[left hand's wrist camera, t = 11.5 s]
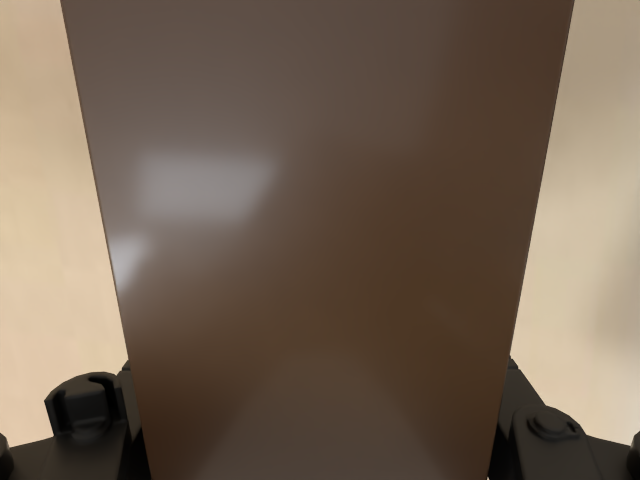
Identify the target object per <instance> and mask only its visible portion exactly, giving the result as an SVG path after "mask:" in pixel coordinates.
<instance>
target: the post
mask: <svg viewBox="0 0 640 480" xmlns="http://www.w3.org/2000/svg"><path fill="white" fill-rule="evenodd" d="M60 2H61V7H62V12H63V17H64V23H65V28H66V33H67V38H68V44H69V49H70V54H71V59H72V65H73V70H74V75H75V80H76V86H77V91H78V96H79V101H80V107H81V112H82V117H83V122H84V128H85V133H86V138H87V143H88V149H89V154H90V159H91V164H92V170H93V175H94V180H95V185H96V191H97V196H98V201H99V206H100V212H101V217H102V222H103V227H104V233H105V238H106V243H107V249H108V254H109V259H110V264H111V270H112V275H113V280H114V285H115V291H116V296H117V301H118V306H119V312H120V317H121V322H122V327H123V333H124V338H125V343H126V348H127V354H128V359H129V364H130V369H131V375H132V380H133V385H134V390H135V396H136V401H137V406H138V411H139V417H140V422H141V427H142V432H143V438H144V443H145V448H146V453H147V459H148V464H149V469H150V474H151V480H487V476H488V471H489V465H490V460H491V454H492V449H493V443H494V438H495V432H496V427H497V421H498V416H499V410H500V405H501V400H502V394H503V389H504V383H505V378H506V372H507V367H508V361H509V356H510V350H511V345H512V339H513V334H514V328H515V323H516V317H517V312H518V307H519V301H520V296H521V290H522V285H523V279H524V274H525V268H526V263H527V257H528V252H529V246H530V241H531V235H532V230H533V225H534V219H535V214H536V208H537V203H538V197H539V192H540V186H541V181H542V175H543V170H544V164H545V159H546V153H547V148H548V143H549V137H550V132H551V126H552V121H553V115H554V110H555V104H556V99H557V93H558V88H559V82H560V77H561V71H562V66H563V60H564V55H565V50H566V44H567V39H568V33H569V28H570V22H571V17H572V11H573V6H574V0H60Z"/></svg>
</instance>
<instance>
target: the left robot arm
mask: <svg viewBox="0 0 640 480" xmlns="http://www.w3.org/2000/svg"><path fill="white" fill-rule="evenodd" d="M44 402H45V406H46V409H47V413H48V416H49V420H50V423H51V427H52V430H53V434H54V436H53V437H51V438H47V439H44V440H40V441H36V442H32V443H28V444H23V445H19V446H15V447H11V448H9V445H8V442H7V439H6V437H5V436H3V435H2V434H1V433H0V480H151V474H150V469H149V464H148V459H147V453H146V448H145V443H144V438H143V432H142V427H141V422H140V417H139V411H138V406H137V401H136V396H135V390H134V385H133V380H132V375H131V369H130V364H129V360H127V362H126V363H125V364H124V366H123V367H122V371H120V372H119V373H118V374H117V376H116V375H115V374H112V373H107V372H91V373H87V374H83V375H79V376H76V377H74V378H72V379H70V380H68V381H65V382H63V383H62V384H60V385H59V386H58V387H56V388H55V389H54V390H52V391H51V392H50V394H49V395H48V396H47V398H46V399H45V400H44ZM487 477H488V478H489V480H640V431H639V432H638V433H637V434H636V435H635V436H634V438H633V441H632V444H631V446H628V445H624V444H620V443H616V442H611V441H607V440H603V439H599V438H595V437H592V436H588V435H586V434H585V432H584V430H583V429H582V427H581V426H580V424H578V423H577V422H576V421H575V420H574V419H572V418H571V417H570V416H569V415H567V414H565V413H563V412H561V411H559V410H558V409H556V408H552V407H549V406H546V405H545V404H544V402H543V401H542V399H541V398H540V397H539V395H538V394H537V392H536V391H535V390H534V388H533V387H532V385H531V384H530V383H529V381H528V380H527V378H526V377H525V376H524V374H523V373H522V371H521V370H520V369H518V366H517V364H516V363H515V362H514V360H513V359H511V356H509V361H508V367H507V372H506V378H505V383H504V389H503V394H502V400H501V405H500V410H499V416H498V421H497V427H496V432H495V438H494V443H493V449H492V454H491V460H490V465H489V471H488V476H487Z"/></svg>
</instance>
